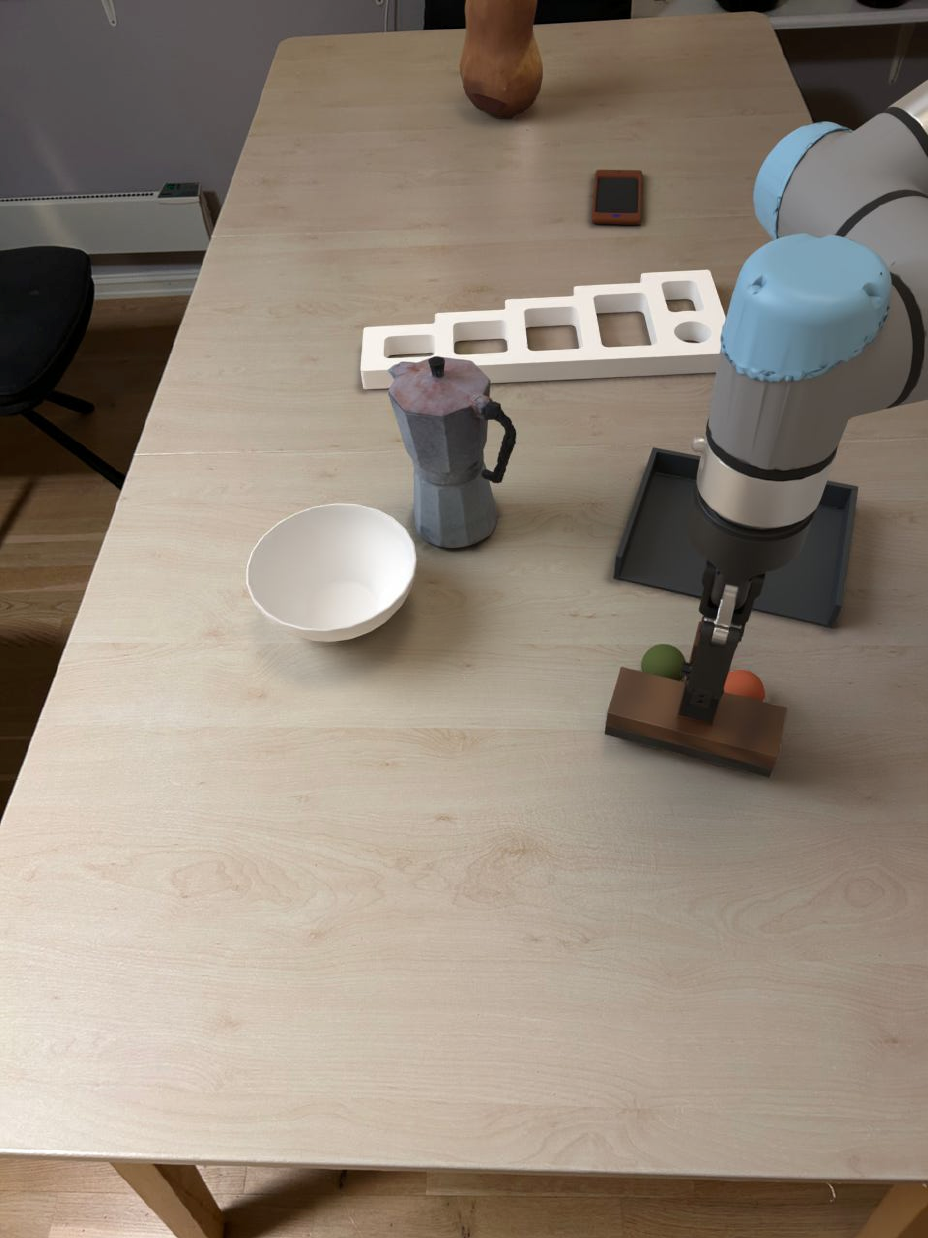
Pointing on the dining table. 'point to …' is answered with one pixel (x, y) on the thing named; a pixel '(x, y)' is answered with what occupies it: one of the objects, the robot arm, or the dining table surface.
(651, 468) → the dustpan
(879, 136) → the robot arm
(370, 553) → the bowl
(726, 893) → the dining table surface
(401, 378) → the moka pot
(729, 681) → the ball
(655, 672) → the ball
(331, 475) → the dining table surface
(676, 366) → the holder
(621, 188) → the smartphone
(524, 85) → the butternut squash
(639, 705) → the brush
